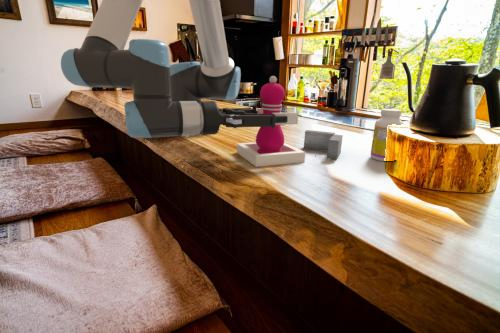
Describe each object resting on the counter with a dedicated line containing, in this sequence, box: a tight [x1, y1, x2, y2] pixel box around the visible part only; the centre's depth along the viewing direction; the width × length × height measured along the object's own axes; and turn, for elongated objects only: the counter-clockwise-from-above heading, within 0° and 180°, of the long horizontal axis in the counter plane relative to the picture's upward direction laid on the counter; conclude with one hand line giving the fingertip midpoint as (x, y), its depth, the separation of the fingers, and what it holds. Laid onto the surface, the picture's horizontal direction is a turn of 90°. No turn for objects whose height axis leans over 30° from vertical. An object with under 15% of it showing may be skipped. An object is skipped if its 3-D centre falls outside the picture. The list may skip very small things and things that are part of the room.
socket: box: [236, 141, 306, 168], centre depth 77 cm, size 13×13×2 cm
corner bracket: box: [303, 129, 343, 161], centre depth 83 cm, size 15×7×5 cm, turn 22°
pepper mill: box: [255, 75, 286, 154], centre depth 75 cm, size 7×7×20 cm
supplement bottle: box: [370, 108, 404, 162], centre depth 78 cm, size 7×7×13 cm
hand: (288, 115), depth 76 cm, fingers open, 8 cm apart
